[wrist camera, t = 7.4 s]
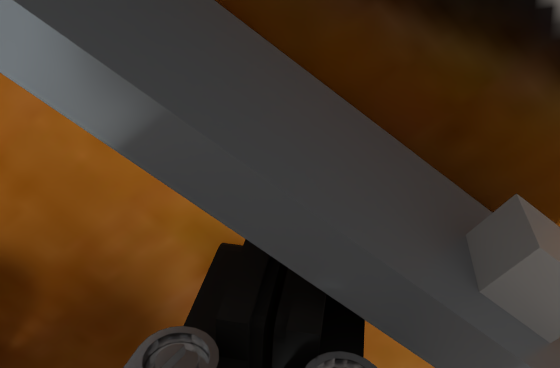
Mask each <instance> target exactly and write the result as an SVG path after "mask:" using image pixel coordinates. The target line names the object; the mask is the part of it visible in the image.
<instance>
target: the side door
mask: <svg viewBox="0 0 560 368" xmlns="http://www.w3.org/2000/svg"><path fill="white" fill-rule="evenodd" d="M0 73H2V74H3V75H5V76H6V77H8V78H9V79H11V80H12V81H14V82H15V83H17V84H18V85H20V86H21V87H23V88H24V89H25V90H27V91H28V92H30V93H31V94H33V95H34V96H36V97H37V98H39V99H40V100H42V101H43V102H45V103H46V104H48V105H49V106H51V107H52V108H53V109H55V110H56V111H58V112H59V113H61V114H62V115H64V116H65V117H67V118H68V119H70V120H71V121H73V122H74V123H76V124H77V125H79V126H80V127H81V128H83V129H84V130H86V131H87V132H89V133H90V134H92V135H93V136H95V137H96V138H98V139H99V140H101V141H102V142H104V143H105V144H107V145H108V146H109V147H111V148H112V149H114V150H115V151H117V152H118V153H120V154H121V155H123V156H124V157H126V158H127V159H129V160H130V161H132V162H133V163H135V164H136V165H137V166H139V167H140V168H142V169H143V170H145V171H146V172H148V173H149V174H151V175H152V176H154V177H155V178H157V179H158V180H160V181H161V182H163V183H164V184H165V185H167V186H168V187H170V188H171V189H173V190H174V191H176V192H177V193H179V194H180V195H182V196H183V197H185V198H186V199H188V200H189V201H190V202H192V203H193V204H195V205H196V206H198V207H199V208H201V209H202V210H204V211H205V212H207V213H208V214H210V215H211V216H213V217H214V218H216V219H217V220H218V221H220V222H221V223H223V224H224V225H226V226H227V227H229V228H230V229H232V230H233V231H235V232H236V233H238V234H239V235H241V236H242V237H244V238H245V239H246V240H248V241H249V242H251V243H252V244H254V245H255V246H257V247H258V248H260V249H261V250H263V251H264V252H266V253H267V254H269V255H270V256H272V257H273V258H274V259H276V260H277V261H279V262H280V263H282V264H283V265H285V266H286V267H288V268H289V269H291V270H292V271H294V272H295V273H297V274H298V275H300V276H301V277H302V278H304V279H305V280H307V281H308V282H310V283H311V284H313V285H314V286H316V287H317V288H319V289H320V290H322V291H323V292H325V293H326V294H328V295H329V296H330V297H332V298H333V299H335V300H336V301H338V302H339V303H341V304H342V305H344V306H345V307H347V308H348V309H350V310H351V311H353V312H354V313H356V314H357V315H358V316H360V317H361V318H363V319H364V320H366V321H367V322H369V323H370V324H372V325H373V326H375V327H376V328H378V329H379V330H381V331H382V332H384V333H385V334H386V335H388V336H389V337H391V338H392V339H394V340H395V341H397V342H398V343H400V344H401V345H403V346H404V347H406V348H407V349H409V350H410V351H412V352H413V353H414V354H416V355H417V356H419V357H420V358H422V359H423V360H425V361H426V362H428V363H429V364H431V365H432V366H434V367H435V368H560V227H559V226H558V225H556V224H555V223H554V222H553V221H551V220H550V219H549V218H547V217H546V216H545V215H544V214H542V213H541V212H540V211H538V210H537V209H536V208H535V207H533V206H532V205H531V204H529V203H528V202H527V201H526V200H524V199H523V198H522V197H521V196H519V195H518V194H517V193H516V194H515V195H514V196H513V197H511V198H510V199H509V200H508V201H506V202H505V203H504V204H503V205H502V206H500V207H499V208H498V209H497V210H495V211H494V212H493V213H492V212H491V211H490V210H488V209H487V208H486V207H484V206H483V205H482V204H480V203H479V202H478V201H476V200H475V199H474V198H473V197H471V196H470V195H469V194H467V193H466V192H465V191H463V190H462V189H461V188H459V187H458V186H457V185H456V184H454V183H453V182H452V181H450V180H449V179H448V178H446V177H445V176H444V175H442V174H441V173H440V172H439V171H437V170H436V169H435V168H433V167H432V166H431V165H429V164H428V163H427V162H425V161H424V160H423V159H421V158H420V157H419V156H418V155H416V154H415V153H414V152H412V151H411V150H410V149H408V148H407V147H406V146H404V145H403V144H402V143H401V142H399V141H398V140H397V139H395V138H394V137H393V136H391V135H390V134H389V133H387V132H386V131H385V130H383V129H382V128H381V127H380V126H378V125H377V124H376V123H374V122H373V121H372V120H370V119H369V118H368V117H366V116H365V115H364V114H363V113H361V112H360V111H359V110H357V109H356V108H355V107H353V106H352V105H351V104H349V103H348V102H347V101H346V100H344V99H343V98H342V97H340V96H339V95H338V94H336V93H335V92H334V91H332V90H331V89H330V88H328V87H327V86H326V85H325V84H323V83H322V82H321V81H319V80H318V79H317V78H315V77H314V76H313V75H311V74H310V73H309V72H308V71H306V70H305V69H304V68H302V67H301V66H300V65H298V64H297V63H296V62H294V61H293V60H292V59H291V58H289V57H288V56H287V55H285V54H284V53H283V52H281V51H280V50H279V49H277V48H276V47H275V46H273V45H272V44H271V43H270V42H268V41H267V40H266V39H264V38H263V37H262V36H260V35H259V34H258V33H256V32H255V31H254V30H253V29H251V28H250V27H249V26H247V25H246V24H245V23H243V22H242V21H241V20H239V19H238V18H237V17H236V16H234V15H233V14H232V13H230V12H229V11H228V10H226V9H225V8H224V7H222V6H221V5H220V4H218V3H217V2H216V1H215V0H0Z"/></svg>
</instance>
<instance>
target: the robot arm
mask: <svg viewBox="0 0 560 368" xmlns="http://www.w3.org/2000/svg"><path fill="white" fill-rule="evenodd" d="M364 326H365V320H364V319H363V318H361V317H360V316H358V315H357V314H356V313H354V312H353V311H351V310H350V309H348V308H347V307H345V306H344V305H342V304H341V303H339V302H338V301H336V300H335V299H333V298H332V297H330V296H329V295H328V294H326V293H325V292H323V291H322V290H320V289H319V288H317V287H316V286H314V285H313V284H311V283H310V282H308V281H307V280H305V279H304V278H302V277H301V276H300V275H298V274H297V273H295V272H294V271H292V270H291V269H289V268H288V267H286V266H285V265H283V264H282V263H280V262H279V261H277V260H276V259H274V258H273V257H272V256H270V255H269V254H267V253H266V252H264V251H263V250H261V249H260V248H258V247H257V246H255V245H254V244H252V243H251V242H249V241H248V240H245V242H244V245H243V246H242V245H235V244H228V243H222V244H220V246H219V248H218V250H217V252H216V254H215V257H214V259H213V261H212V263H211V266H210V268H209V270H208V272H207V275H206V277H205V279H204V281H203V284H202V286H201V288H200V290H199V292H198V295H197V297H196V299H195V301H194V304H193V306H192V308H191V310H190V313H189V315H188V317H187V319H186V322H185V324H184V326H178V327H170V328H166V329H163V330H160V331H158V332H156V333H154V334H153V335H151V336H149V337H148V338H147V339H146V340H145V341H144V342H143V343H142V344H141V345H140V346H139V347H138V348H137V350H136V351H135V352H134V354H133V355H132V356H131V358H130V359H129V361H128V362H127V363H126V365H125V366H124V367H123V368H377V367H376V366H375V365H373V364H372V363H371V362H370V361H368V360H367V359H365V358H363V354H364Z"/></svg>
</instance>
